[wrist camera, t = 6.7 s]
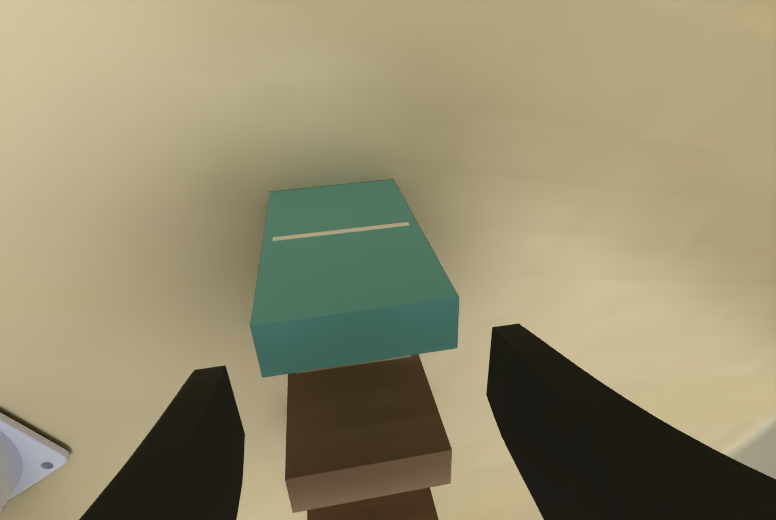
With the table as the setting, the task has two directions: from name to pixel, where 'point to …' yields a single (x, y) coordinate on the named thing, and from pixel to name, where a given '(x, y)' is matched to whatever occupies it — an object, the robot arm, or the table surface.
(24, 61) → the table surface
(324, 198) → the domino
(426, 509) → the domino
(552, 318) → the table surface
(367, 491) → the domino
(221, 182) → the table surface
